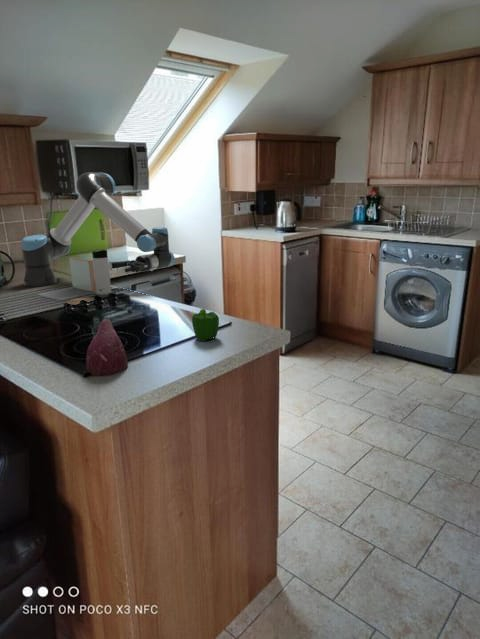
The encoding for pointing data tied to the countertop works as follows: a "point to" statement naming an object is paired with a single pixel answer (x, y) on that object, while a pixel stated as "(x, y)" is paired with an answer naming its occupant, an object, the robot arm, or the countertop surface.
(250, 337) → the countertop surface
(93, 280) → the tile
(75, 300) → the coaster
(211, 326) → the bell pepper
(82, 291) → the mat
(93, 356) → the vegetable
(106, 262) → the travel mug
